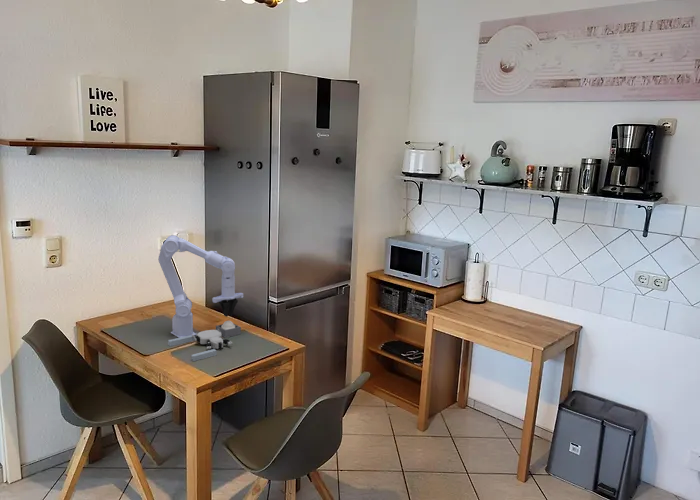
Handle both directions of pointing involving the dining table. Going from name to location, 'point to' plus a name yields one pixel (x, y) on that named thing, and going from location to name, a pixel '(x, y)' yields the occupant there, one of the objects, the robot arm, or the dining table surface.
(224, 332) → the dome collar
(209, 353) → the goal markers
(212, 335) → the robot toy
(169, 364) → the dining table surface
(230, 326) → the dome button
